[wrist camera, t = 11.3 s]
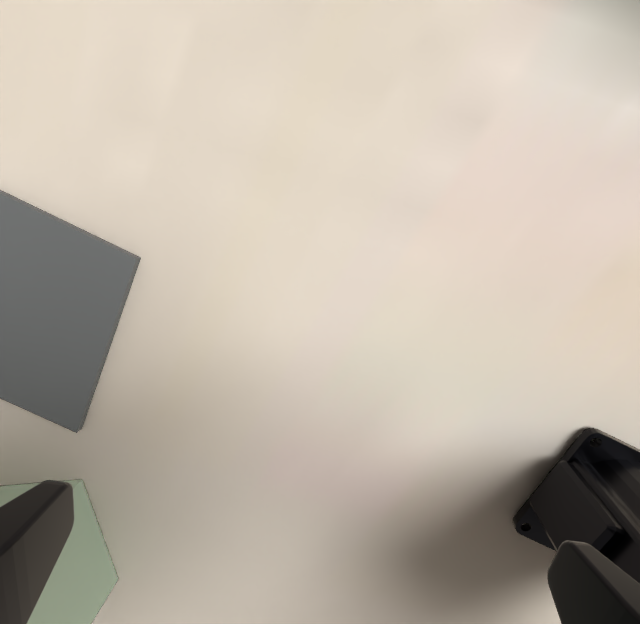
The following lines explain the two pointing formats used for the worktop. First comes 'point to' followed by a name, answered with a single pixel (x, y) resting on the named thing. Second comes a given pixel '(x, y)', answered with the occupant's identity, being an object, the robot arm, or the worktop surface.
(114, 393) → the worktop surface
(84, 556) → the cover
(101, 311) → the mat
